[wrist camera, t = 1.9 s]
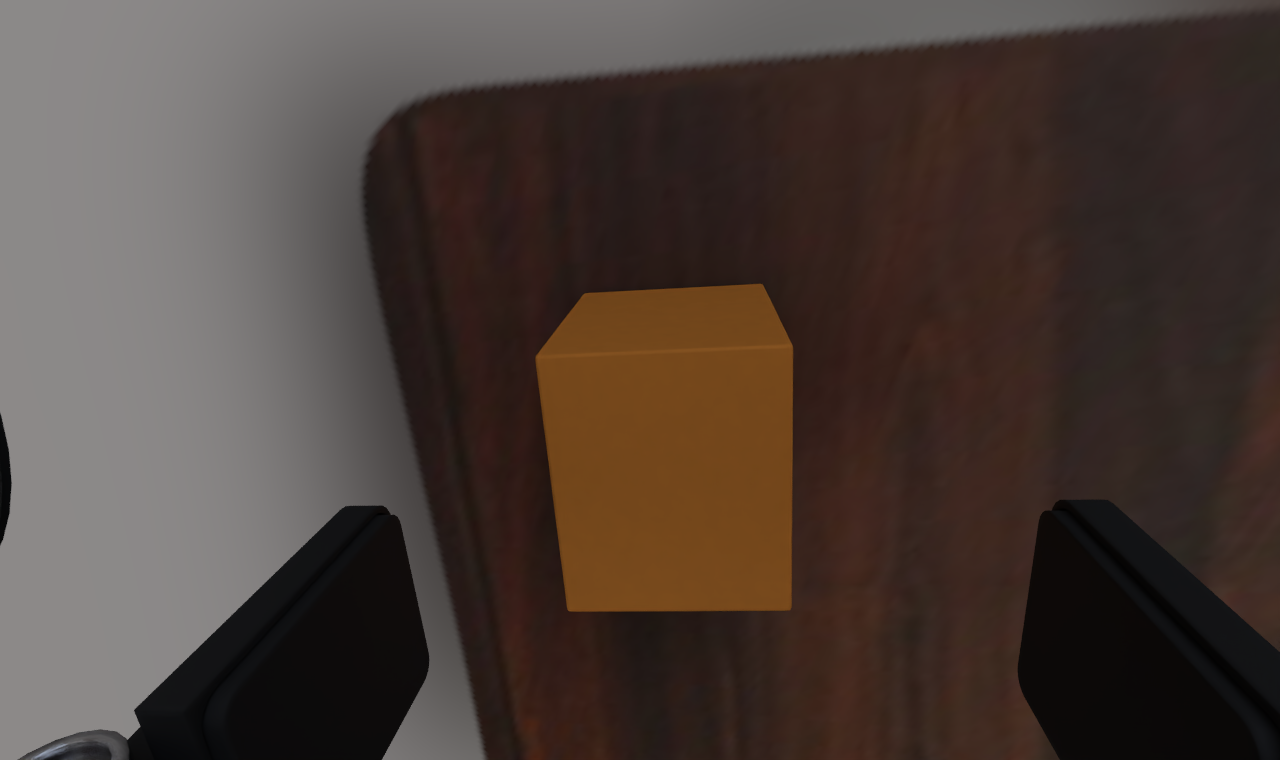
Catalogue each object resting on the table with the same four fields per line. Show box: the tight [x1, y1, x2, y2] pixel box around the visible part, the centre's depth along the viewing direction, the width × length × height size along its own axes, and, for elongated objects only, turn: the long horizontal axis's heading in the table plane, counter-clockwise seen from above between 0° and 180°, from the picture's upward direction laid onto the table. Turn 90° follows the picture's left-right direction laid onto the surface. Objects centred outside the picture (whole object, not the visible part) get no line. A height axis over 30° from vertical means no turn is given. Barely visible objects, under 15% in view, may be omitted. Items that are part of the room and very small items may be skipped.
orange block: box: [535, 284, 793, 612], centre depth 15 cm, size 6×5×6 cm
